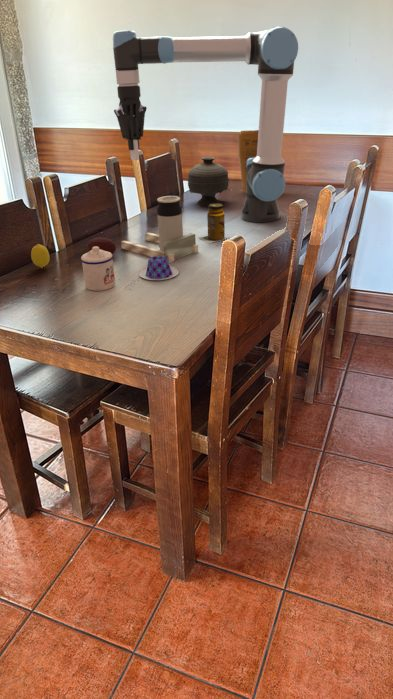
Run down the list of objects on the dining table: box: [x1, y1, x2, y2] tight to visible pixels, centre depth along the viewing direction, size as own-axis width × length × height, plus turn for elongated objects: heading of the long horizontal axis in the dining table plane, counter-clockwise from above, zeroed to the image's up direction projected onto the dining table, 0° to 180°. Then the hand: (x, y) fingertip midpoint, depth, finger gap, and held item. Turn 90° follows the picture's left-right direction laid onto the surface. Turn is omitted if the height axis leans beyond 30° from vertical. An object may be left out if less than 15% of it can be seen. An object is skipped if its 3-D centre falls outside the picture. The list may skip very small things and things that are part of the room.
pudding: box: [139, 256, 180, 281], centre depth 160 cm, size 12×12×5 cm
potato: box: [87, 236, 117, 255], centre depth 177 cm, size 7×10×6 cm
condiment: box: [199, 203, 230, 244], centre depth 187 cm, size 7×8×12 cm
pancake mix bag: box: [237, 129, 259, 194], centre depth 242 cm, size 7×19×28 cm, turn 74°
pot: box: [187, 156, 229, 207], centre depth 231 cm, size 18×18×20 cm
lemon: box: [30, 243, 50, 269], centre depth 168 cm, size 6×6×8 cm
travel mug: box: [156, 195, 184, 251], centre depth 174 cm, size 8×8×18 cm
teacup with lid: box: [80, 246, 116, 292], centre depth 153 cm, size 12×9×12 cm
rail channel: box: [120, 231, 199, 264], centre depth 180 cm, size 24×13×6 cm, turn 48°
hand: (135, 159), depth 187 cm, fingers closed
